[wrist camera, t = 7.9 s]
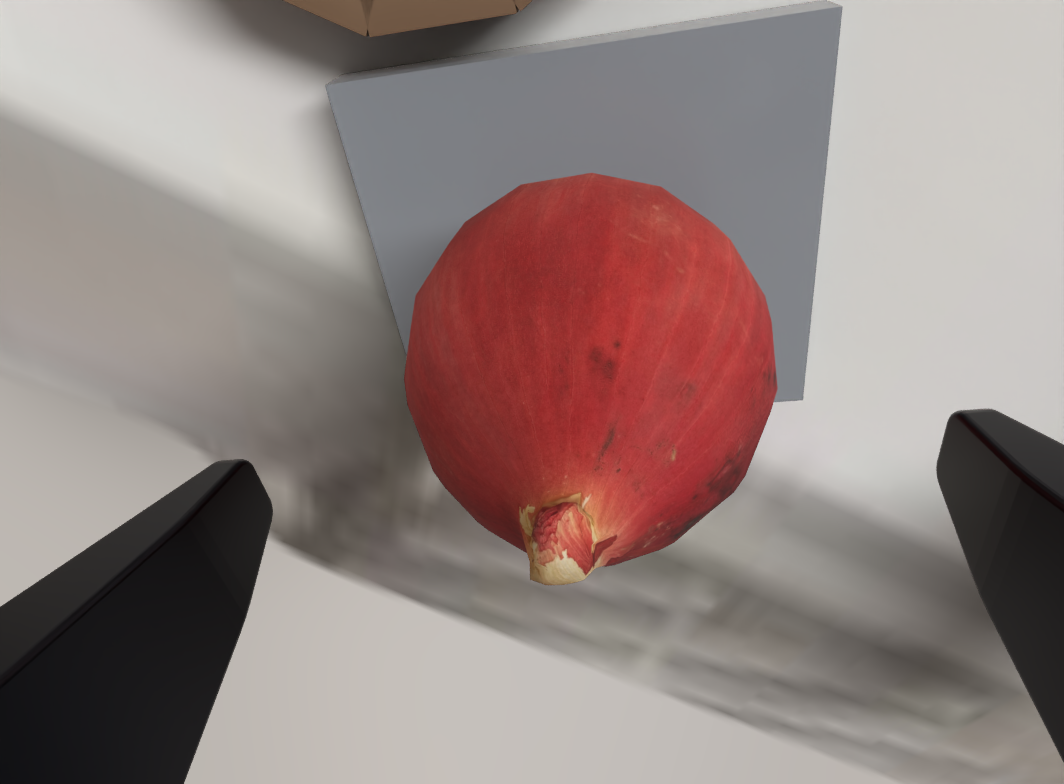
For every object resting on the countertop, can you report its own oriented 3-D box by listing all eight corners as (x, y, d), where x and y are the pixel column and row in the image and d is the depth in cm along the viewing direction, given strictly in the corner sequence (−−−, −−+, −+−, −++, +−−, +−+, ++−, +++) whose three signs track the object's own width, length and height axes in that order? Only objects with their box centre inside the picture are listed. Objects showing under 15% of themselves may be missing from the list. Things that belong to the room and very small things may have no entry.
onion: (803, 232, 13) (977, 568, 7) (620, 414, 16) (621, 757, 10) (555, 46, 11) (478, 256, 5) (408, 288, 15) (250, 598, 8)
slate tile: (825, 0, 12) (842, 5, 11) (792, 375, 16) (802, 399, 15) (341, 75, 13) (324, 85, 12) (435, 403, 18) (427, 426, 17)
